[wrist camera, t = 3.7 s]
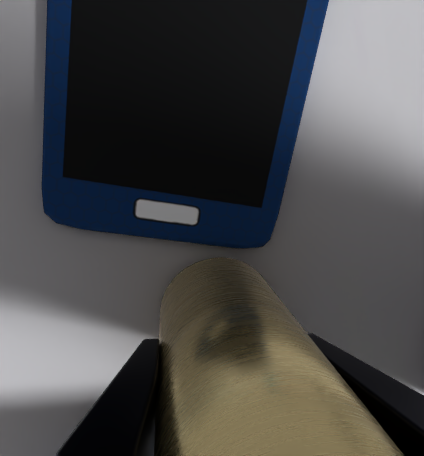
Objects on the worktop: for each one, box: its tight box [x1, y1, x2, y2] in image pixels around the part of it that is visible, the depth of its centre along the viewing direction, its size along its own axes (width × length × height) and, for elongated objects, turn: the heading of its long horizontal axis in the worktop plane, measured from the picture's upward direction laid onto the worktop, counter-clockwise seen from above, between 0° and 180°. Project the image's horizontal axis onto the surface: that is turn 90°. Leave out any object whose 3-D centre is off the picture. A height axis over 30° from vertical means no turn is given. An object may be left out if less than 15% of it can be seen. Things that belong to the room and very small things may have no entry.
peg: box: [154, 258, 404, 456], centre depth 6 cm, size 4×4×8 cm
